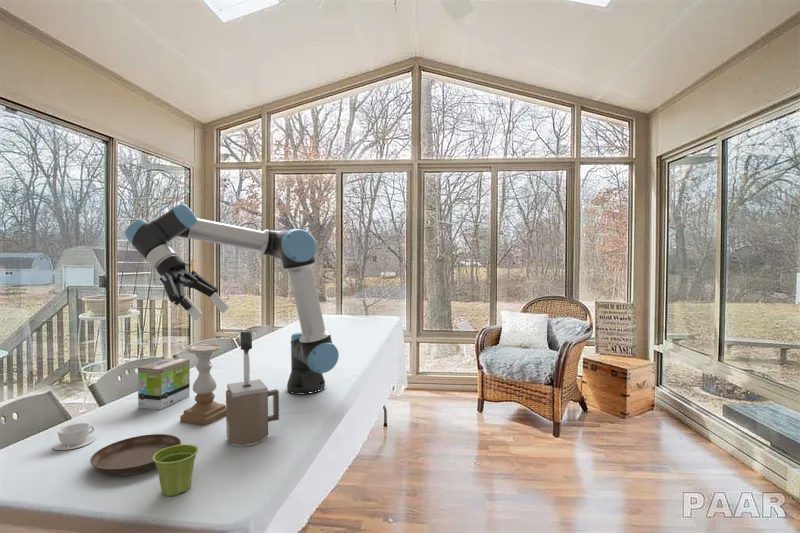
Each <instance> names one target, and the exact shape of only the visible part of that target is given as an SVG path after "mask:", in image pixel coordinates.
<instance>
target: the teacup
mask: <svg viewBox="0 0 800 533" xmlns="http://www.w3.org/2000/svg"><path fill="white" fill-rule="evenodd" d="M90 429H91V430H90ZM94 431H95V426H94V425H90V424H89V423H87V422H86V423H85V422H82V423H81V422H80V423H73V424H69V425H65V426H63V427H61V428H59V429H58V430H57V435H58V439H59V441H57V442H55V443H54V444H53V445H52V449H53V450H56V451H68V450H74V449H79V448H83V447H84V446H87V445H90V444H91V443H92V442H94V441H95V439H96V437H95V435H91V434H92V433H94ZM68 446H69V447H68Z"/></svg>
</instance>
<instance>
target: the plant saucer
mask: <svg viewBox="0 0 800 533" xmlns="http://www.w3.org/2000/svg"><path fill="white" fill-rule="evenodd" d="M175 445H182V440H181V439H180V438H179V437H177V436H175V435H172V434H164V433H159V434H158V433H156V434H155V433H153V434H145V435H137V436H133V437H129V438H124V439H121V440H118V441H115V442H113V443H110V444H108V445H106V446H104V447H102V448H100V449H98V450H97V451H95V452H94V453H93V454H92V456H91V457H90V459H89V463H90V464H91V466H92V467H93V468H94V469H95V470H97V471H99V472H101V473H103V474H105V475H106V476H107V475H108V476H116V477H120V476H121V477H123V476H131V475H137V474H141V473H145V472H148V471H150V470H153V469H155V468H156V469H157V467H156V464H155V462H154V461H153V456H154V454H155V453H157V452H158V451H160V450H162V449H165V448H167V447H171V446H175Z"/></svg>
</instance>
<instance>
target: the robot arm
mask: <svg viewBox="0 0 800 533" xmlns="http://www.w3.org/2000/svg"><path fill="white" fill-rule="evenodd" d="M124 235H125V238H126V239H127V241H129V242H130V244H131V245H132V246H133V247H134V248H135V249H136V251H137V252H139V254H140V255H141V256H142V257H143V258H144V259H145V260H146V261H147V262H148V263H149V264H150V266H151V267H152V268H153V269H154V270H155V271H156V272H157V274H159V276H160V277H159V280H160V282H161V283H162V284H163V286H164V289H165V292H166V294H167V297H168V299H169V302H171V303H173V304H174V305H175V306H179V305H181V307H183V309H184V310H185V311H186V312H187V313H188V314H189V315H190V316H191V318H192V319H193V320H195V321H196V320H198V319H199V318H200V317H201V316H202V315H203V312H202V311H201V310H200V309H199V307H198V305H196V304H195V303H194V302H193V301H192V300H191V299H190V297H188V296H185V295H186V294H185V288H184V287H187V288H189V289H195V290H196V291H198V292H200V293H201V294H203V295H205V296H207V297H209V298H208V299H209V300H210V301H211V302H212V304H213V305H214V306H215V307H216V308H217V309H218V310H219V312H220V313H222V314H225V313H226V311H227V310H228V309H229V308H230V306H229V305H228V303H226V302H225V301H224V300H223V299H222V298H221V296H220V295H219V294H218V291H220V289H219V288H218V287H216V286H215V285H213V284H212V283H210V282H209V281H208V280H207V279H205V278H203V277H202V276H200V274H198V272H196V271H195V270H191V272H189V271H187V269H186V267H187V265H186V262H185V261H184V260H183V259H182V258H181V257H180V255H178V254H177V252H176V251H175V250H174V249H173V248H172V247H171V246H170V245H169V244H168V243H169V242H170V241H171V240H173V239H175V238H176V237H179V238H183V239H184V238H185V239H186V238H187V239H189V240H190V239H192V240H196V241H203V242H208V243H212V244H213V243H214V244H219V245H225V246H229V247H235V248H241V249H247V250H251V251H258V252H259V253H260V255H264V256H269V257H273V258H275V259H278V260H281V262H282V263H281V264H282V268H283V270H285V271H286V272H287V273H288V274H289V280H290V286H291V289H292V292H293V297H294V302H295V303H294V304H295V306H296V311H297V317H298V320H299V324H300V329H301V332H296V333H295V332H294V333H293V334H292V335H291V337H290V338H291V339H290V351H291V352H290V355H291V356H290V361H291V362H290V363H291V366H290V367H291V368H290V369H291V371H290V375H289V378H288V379H287V380H288V381H287V384H286V390H288V391H290V392H293V393H292V394H294V393H309V392H315V391H318V390H321V389H323V388H324V387H325V388H326V380H325V378H324V375H323V374H324V373H328V372H330V371H331V370H332V369H334V367H336V366H337V363H338V360H339V350H338V348H337V346H336V345H335V344H333V340H332V335H331V332H330V331H328V330H327V329H326V328H325V322H324V318H323V312H322V308H321V303H320V298H319V294H318V288H317V284H316V279H315V274H314V270H313V268H314V265H316V259H315V254H316V251H317V243H316V239H315V238H314V236H313V235H312V234H311V233H310V232H309V231H307V230H305V229H301V228H291V229H288V230H287V229H286V230H271V229H264V230H262V231H261V230H257V229H254V228H248V227H244V226H243V227H242V226H238V225H233V224H226V223H222V222H217V221H212V220H208V219H203V218H198V217H197V216H196V214H195V213H194V212H193V211H192V210H191V208H190V207H189V206H188V205H186V204H185V203H181V204H179V205H177V206H174V207H173V208H172V209H169V211H167V212H165V213H164V214H162V215H161V216H159V217H158V218H156V219H155V220H152V221H151V222H148V221H146V220H144V219H139V220H136V221H133V222H131V224H129V225H128V226H127V227H126V228H125V231H124ZM323 390H324V389H323ZM288 391H287V392H288ZM290 392H289V393H290Z"/></svg>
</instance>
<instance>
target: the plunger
mask: <svg viewBox="0 0 800 533" xmlns="http://www.w3.org/2000/svg"><path fill="white" fill-rule="evenodd" d="M239 334H240V339H239V340H240V350H243V382H244V388H245V387H250V381H251V380H250V377H251V376H250V370H251V369H250V367H251V366H250V350H252V349H253V339H252V338H253V332H252V330H244V331H243V330H242V331H240V332H239ZM244 396H245V395H244Z"/></svg>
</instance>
